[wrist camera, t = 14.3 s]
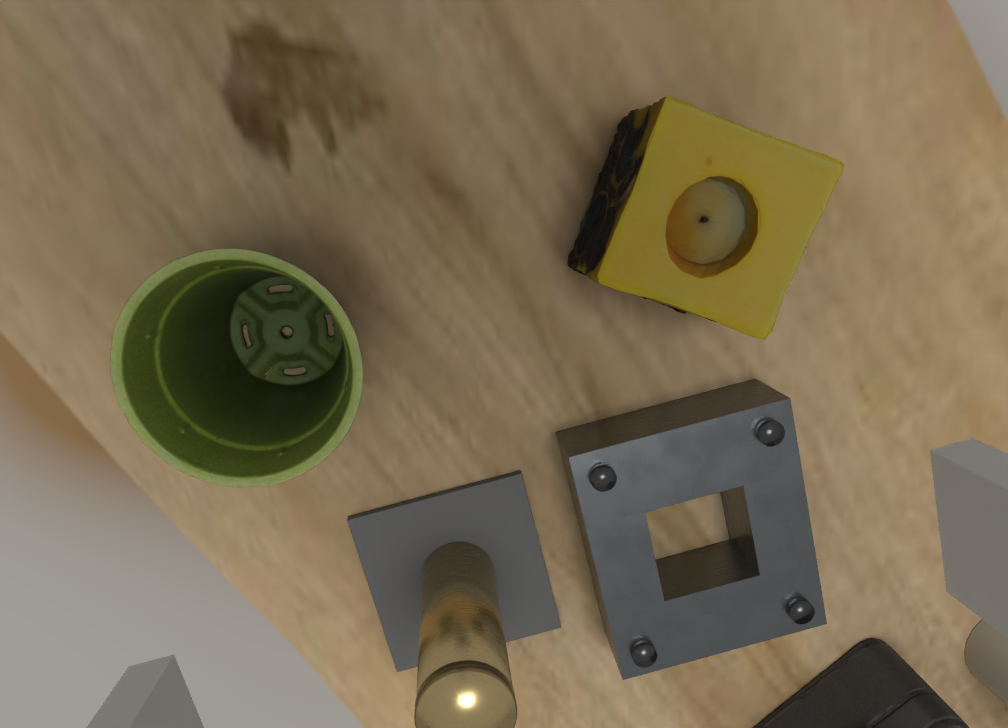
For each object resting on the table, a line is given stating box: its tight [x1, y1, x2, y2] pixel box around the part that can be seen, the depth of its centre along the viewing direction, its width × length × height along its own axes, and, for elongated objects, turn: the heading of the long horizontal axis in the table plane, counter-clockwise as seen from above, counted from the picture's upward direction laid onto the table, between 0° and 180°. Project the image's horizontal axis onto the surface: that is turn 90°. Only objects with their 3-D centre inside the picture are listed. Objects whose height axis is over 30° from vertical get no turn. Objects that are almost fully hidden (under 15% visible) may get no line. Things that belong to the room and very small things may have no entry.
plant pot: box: [110, 248, 363, 487], centre depth 40 cm, size 12×12×11 cm
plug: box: [415, 542, 517, 728], centre depth 42 cm, size 5×5×14 cm
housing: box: [556, 379, 827, 680], centre depth 47 cm, size 16×14×6 cm
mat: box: [347, 471, 561, 672], centre depth 49 cm, size 12×12×1 cm
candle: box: [568, 96, 844, 339], centre depth 41 cm, size 10×10×10 cm
